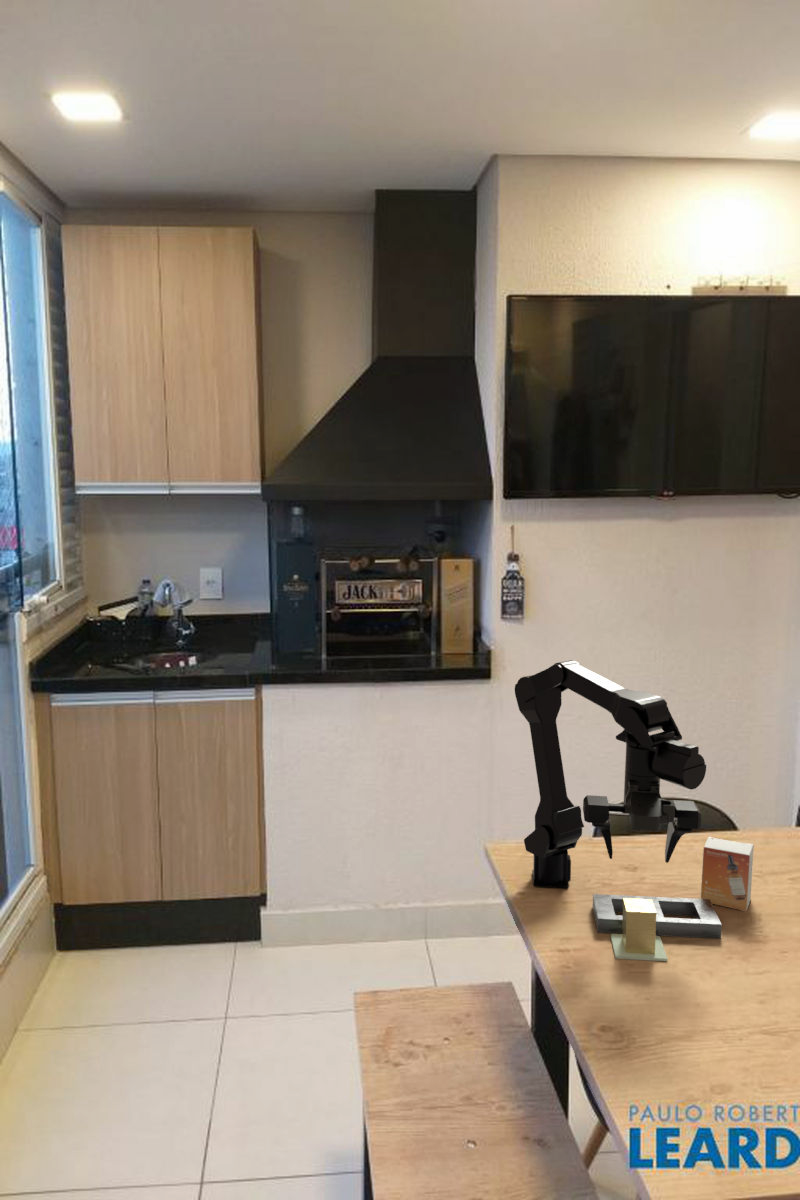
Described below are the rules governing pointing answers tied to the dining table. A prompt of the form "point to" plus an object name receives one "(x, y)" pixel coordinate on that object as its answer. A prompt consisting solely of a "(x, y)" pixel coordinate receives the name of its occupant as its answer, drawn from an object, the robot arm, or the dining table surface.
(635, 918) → the block
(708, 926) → the grey flat rectangular frame
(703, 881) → the small box
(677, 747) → the robot arm
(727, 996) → the dining table surface
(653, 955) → the mat
